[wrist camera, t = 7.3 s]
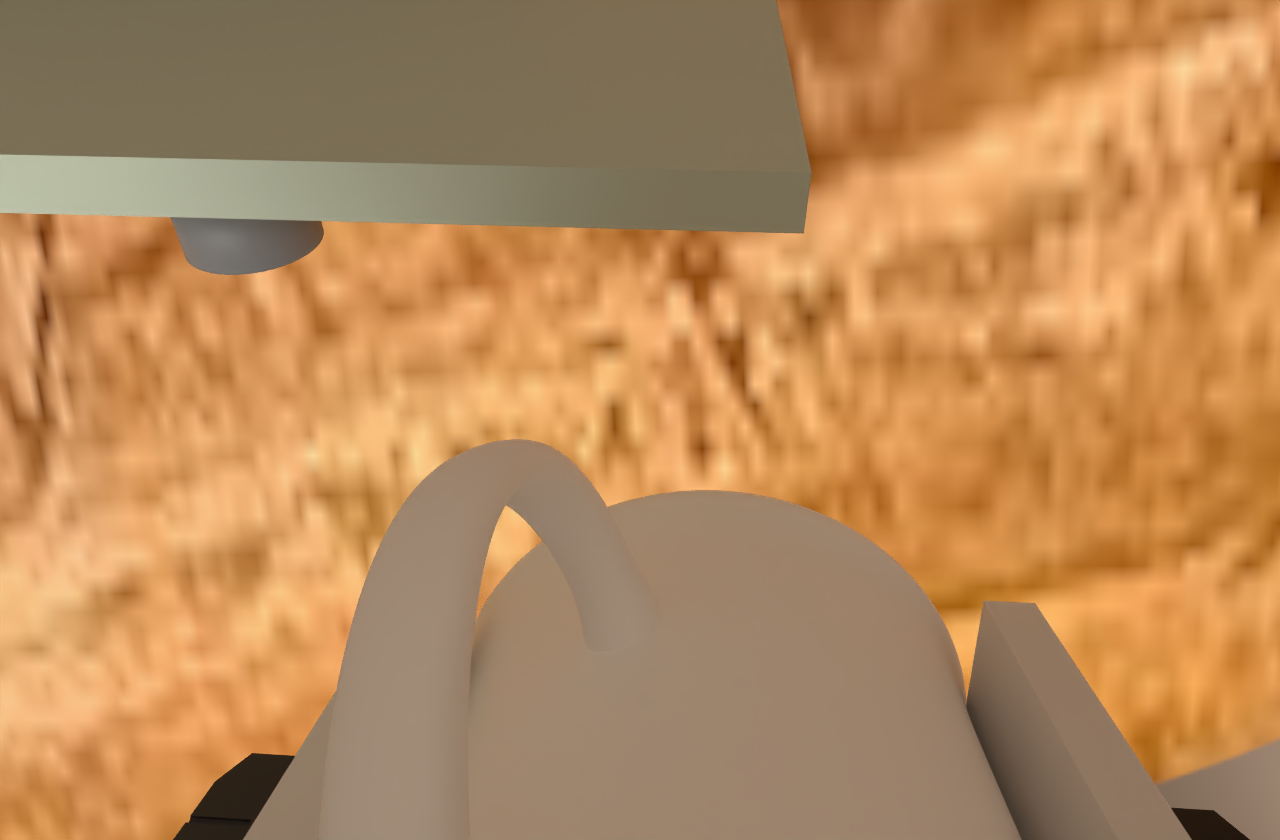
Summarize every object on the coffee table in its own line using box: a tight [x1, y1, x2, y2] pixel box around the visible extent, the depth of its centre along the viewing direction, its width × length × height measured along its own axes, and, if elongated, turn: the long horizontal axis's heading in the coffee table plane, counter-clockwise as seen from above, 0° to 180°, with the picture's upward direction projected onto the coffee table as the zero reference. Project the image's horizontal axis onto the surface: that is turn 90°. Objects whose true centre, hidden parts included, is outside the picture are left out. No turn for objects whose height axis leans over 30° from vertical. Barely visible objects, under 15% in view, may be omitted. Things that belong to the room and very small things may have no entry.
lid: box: [0, 0, 811, 275], centre depth 16 cm, size 24×10×2 cm
